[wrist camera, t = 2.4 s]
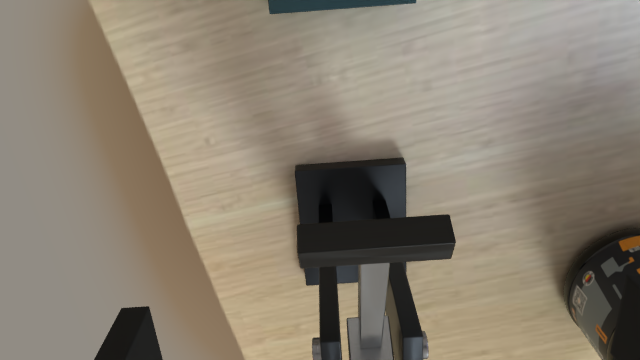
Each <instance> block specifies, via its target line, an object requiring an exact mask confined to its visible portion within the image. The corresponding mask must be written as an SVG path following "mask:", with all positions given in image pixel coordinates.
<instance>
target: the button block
mask: <svg viewBox="0 0 640 360" xmlns="http://www.w3.org/2000/svg"><path fill="white" fill-rule="evenodd" d="M268 3H269V13H270V14H279V13H292V12H306V11H319V10H332V9H345V8H358V7H371V6H385V5H398V4H411V3H416V0H268Z"/></svg>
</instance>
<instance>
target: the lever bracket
mask: <svg viewBox="0 0 640 360" xmlns="http://www.w3.org/2000/svg"><path fill="white" fill-rule="evenodd" d="M295 178H296V188H297V198H298V208H299V218H300V224H311V223H326V222H341V221H356V220H371V219H386V218H402V217H406V163H405V161H404V158H393V159H379V160H364V161H350V162H335V163H321V164H306V165H296V166H295ZM305 278H306V285H307V286H308V285H319V312H320V337H319V338H313V339H312V354H313V360H342V351H341V335H340V319H339V303H338V288H337V284H339V283H355V282H358V265H348V266H332V267H317V268H305ZM385 311H386V316H389V323H390V331H391V338H392V346H393V353H394V358H395V360H423V359H427V358H428V354H429V351H428V341H427V336H426V333H425V331H422V330H421V326H420V323H419V319H418V315H417V312H416V308H415V304H414V301H413V297H412V294H411V290H410V286H409V283H408V279H407V275H406V262H394V263H390V267H389V277H388V287H387V297H386V307H385Z"/></svg>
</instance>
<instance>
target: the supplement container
mask: <svg viewBox="0 0 640 360" xmlns="http://www.w3.org/2000/svg"><path fill="white" fill-rule="evenodd" d="M629 274H640V228H631V229H626V230H621V231H618V232H615V233H612V234H610V235H607V236H605V237H603V238H601V239H599V240H598V241H596V242H595V243H593V244H592V245H591V246H589V247H588V248H587V249H586V250H584V251H583V252H582V253H581V254H580V256H579V257H578V258H577V259H576V260H575V262H574V263H573V265H572V266H571V268H570V270H569V272H568V274H567V277H566V280H565V285H564V301H565V305H566V308H567V310H568V313H569V314H570V316H571V318H572V319H573V321H574V322H575V323H576V325H577V326H578V327H579V328H580V329H581V330H582V332H583V333H584V335H585V336H586V338H587V339H588V341H589V342H590V343H591V345H592V346H593V348H594V349H595V351H596V352H597V354H598V355H599V356H600V358H601V359H602V360H615V359H614V357H613V356H612V354H611V353H610V352H611V347H612V342H613V337H614V332H615V327H616V323H617V318H618V313H619V308H620V303H621V298H622V294H623V289H624V284H625V279H626V275H629Z"/></svg>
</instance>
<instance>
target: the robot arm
mask: <svg viewBox="0 0 640 360" xmlns="http://www.w3.org/2000/svg"><path fill="white" fill-rule="evenodd" d="M610 353H611V354H612V356H613V357H614V359H615V360H640V274H629V275H626V279H625V284H624V289H623V294H622V298H621V303H620V308H619V313H618V318H617V323H616V327H615V332H614V337H613V342H612V347H611V352H610ZM94 360H162V355H161V351H160V347H159V344H158V340H157V336H156V332H155V328H154V324H153V320H152V316H151V313H150V309H149V307H132V308H122V309H121V310H120V312H119V314H118V316H117V318H116V320H115V322H114V324H113V325H112V327H111V329H110V331H109V333H108V335H107V336H106V339H105V340H104V342H103V344H102V346H101V348H100V350H99V351H98V353H97V355H96V357H95V359H94Z"/></svg>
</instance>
